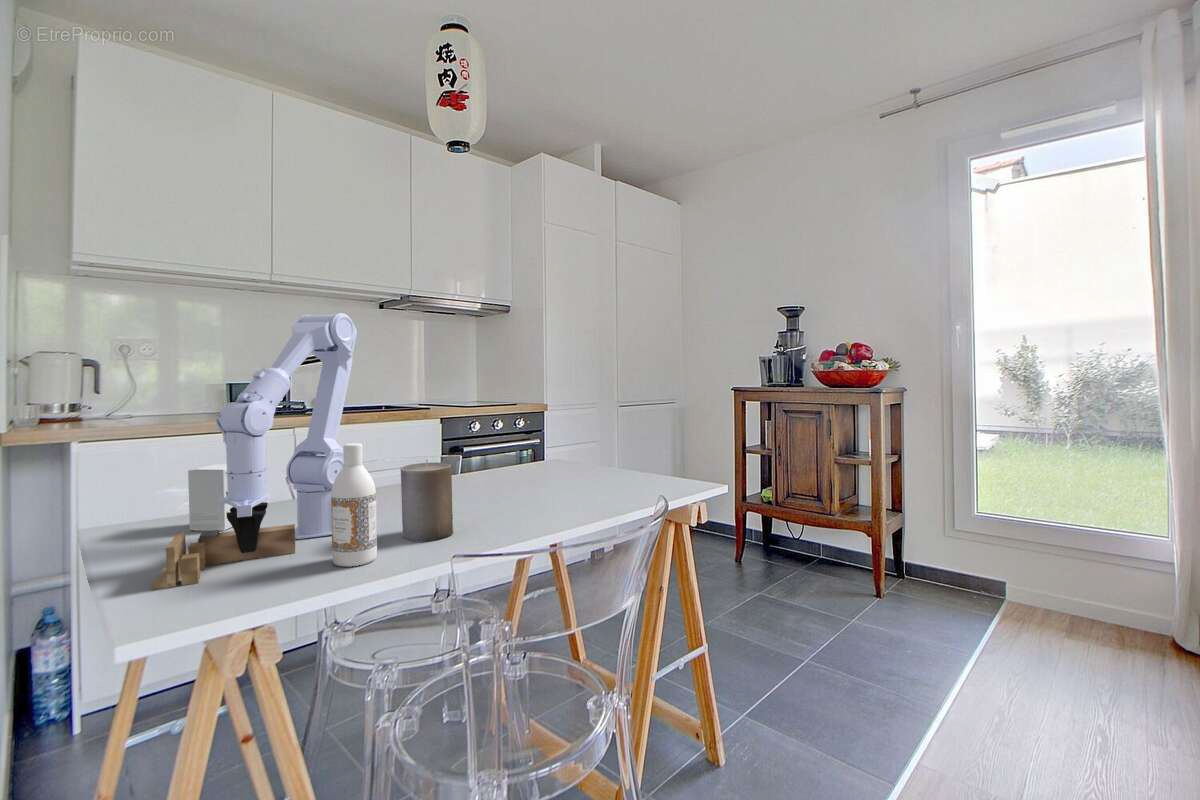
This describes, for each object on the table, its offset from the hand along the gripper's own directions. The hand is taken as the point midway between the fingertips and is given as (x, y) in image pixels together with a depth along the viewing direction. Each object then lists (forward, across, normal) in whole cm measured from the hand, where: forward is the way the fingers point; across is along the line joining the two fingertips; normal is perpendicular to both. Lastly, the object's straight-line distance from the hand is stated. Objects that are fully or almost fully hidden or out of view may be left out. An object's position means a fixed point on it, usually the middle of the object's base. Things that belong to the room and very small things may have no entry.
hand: (249, 548), depth 97 cm
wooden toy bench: (+1, +6, -9) cm, 11 cm away
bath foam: (+2, +11, +16) cm, 19 cm away
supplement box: (+2, -26, -7) cm, 27 cm away
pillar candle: (+2, +1, +30) cm, 30 cm away
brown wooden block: (+1, 0, 0) cm, 1 cm away
